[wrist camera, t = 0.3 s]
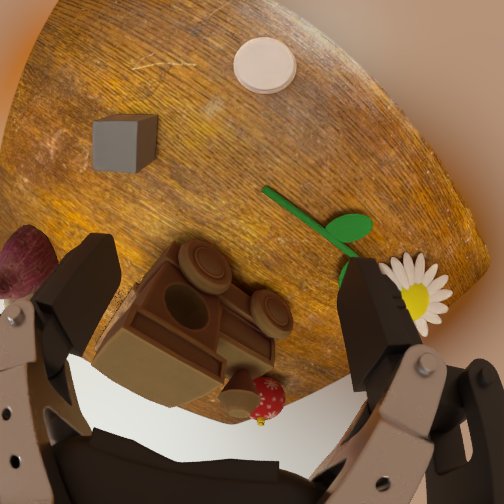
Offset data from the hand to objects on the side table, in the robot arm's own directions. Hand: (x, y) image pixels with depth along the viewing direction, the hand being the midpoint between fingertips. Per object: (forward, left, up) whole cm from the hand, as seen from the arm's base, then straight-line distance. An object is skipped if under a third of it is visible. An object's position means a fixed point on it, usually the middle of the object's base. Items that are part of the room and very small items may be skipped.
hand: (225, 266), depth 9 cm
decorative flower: (+5, +18, -21) cm, 28 cm away
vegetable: (+30, -25, -21) cm, 44 cm away
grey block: (+5, -12, -21) cm, 24 cm away
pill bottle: (-7, -3, -21) cm, 22 cm away
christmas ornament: (+36, +22, -21) cm, 47 cm away
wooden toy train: (+19, +5, -21) cm, 29 cm away
